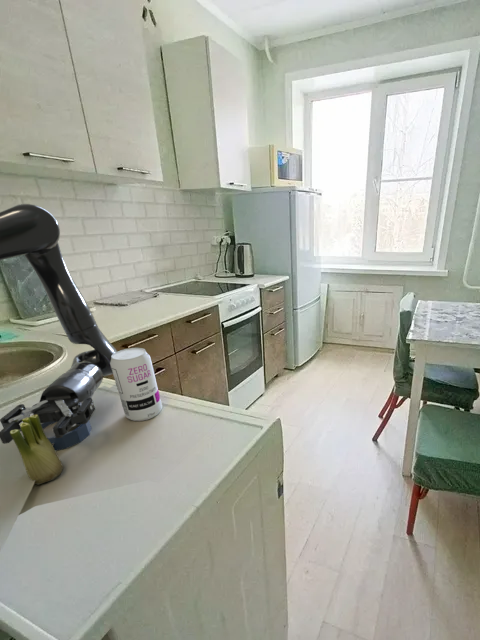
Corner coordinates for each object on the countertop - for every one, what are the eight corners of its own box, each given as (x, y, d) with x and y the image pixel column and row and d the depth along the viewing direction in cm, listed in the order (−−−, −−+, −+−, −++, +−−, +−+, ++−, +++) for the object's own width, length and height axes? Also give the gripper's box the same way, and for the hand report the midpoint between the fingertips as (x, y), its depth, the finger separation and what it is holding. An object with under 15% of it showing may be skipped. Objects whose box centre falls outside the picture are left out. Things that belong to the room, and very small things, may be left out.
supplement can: (142, 402, 88) (127, 345, 81) (169, 406, 85) (156, 348, 78) (118, 419, 81) (99, 358, 74) (147, 424, 78) (130, 362, 71)
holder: (29, 455, 70) (24, 443, 68) (45, 429, 78) (40, 417, 77) (86, 444, 72) (81, 432, 71) (94, 420, 81) (91, 408, 80)
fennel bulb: (39, 491, 60) (11, 433, 55) (24, 482, 62) (-4, 425, 57) (72, 471, 65) (49, 415, 59) (56, 463, 67) (33, 409, 62)
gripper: (28, 379, 72) (-26, 422, 57) (100, 373, 73) (67, 412, 58) (41, 411, 75) (-6, 459, 60) (110, 404, 76) (80, 449, 62)
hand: (30, 436), depth 59 cm, fingers open, 8 cm apart
